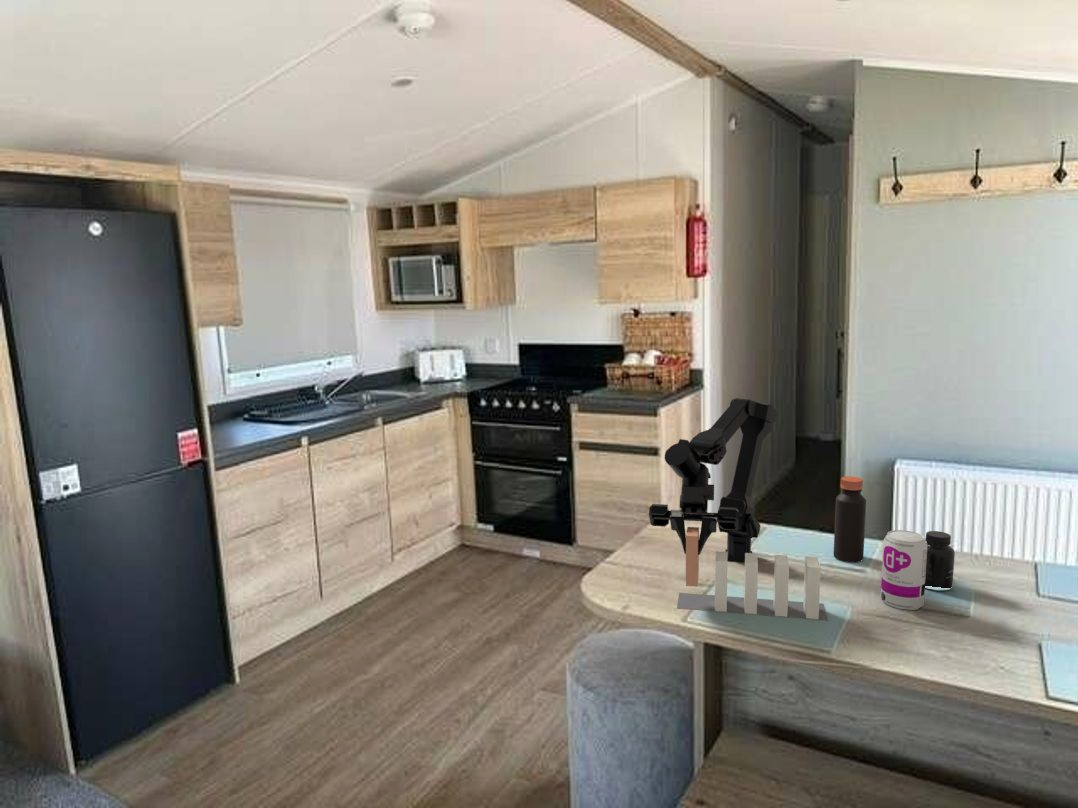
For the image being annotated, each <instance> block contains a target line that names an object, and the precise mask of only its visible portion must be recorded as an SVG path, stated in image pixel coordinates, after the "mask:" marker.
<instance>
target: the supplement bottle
mask: <svg viewBox="0 0 1078 808" xmlns="http://www.w3.org/2000/svg"><path fill="white" fill-rule="evenodd" d="M925 533H926V534H925V537H924V539H925V541H926V543H927V560H926V576H925V586H932V587H941V588H951V587H952V588H953V582H954V571H955V570H954V569H955V560H956V559H955V557H956V556H955V555H956V553H955V550H954V548H953V547H952V546H950V545H951V538H952V536H951V534H950V533H947V532H944V531H938V530H929V531H927V532H925ZM952 588H951V589H952Z"/></svg>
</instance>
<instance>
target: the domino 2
mask: <svg viewBox="0 0 1078 808" xmlns="http://www.w3.org/2000/svg"><path fill="white" fill-rule="evenodd" d="M758 559H759V558H758V553H753V552H752V553H745V561H744V583H743V584H744V586H743V589H744V590H743V591H744V592H743V593H744V594H743V598H744V611H745V613H747V614H746V615H751V614H757V599H758V580H759V579H758V578H759V577H758V575H759V573H758V572H759V561H758Z"/></svg>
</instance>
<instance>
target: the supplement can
mask: <svg viewBox="0 0 1078 808" xmlns="http://www.w3.org/2000/svg"><path fill="white" fill-rule="evenodd" d="M882 543H883V544H882V557H881V558H882V561H881V581H880V596H879V598H880V599H881V601H882V602H884V603H885V604H886V605H888V606H890V607H892V608H896V609H899V610H911V611H917V610H919V609H920V608H922V607H923V606H924V603H925V591H926V588H925V576H926V560H927V542H926V541H925V536H924V535H923V534H921V533H919V532H916V531H911V530H904V529H897V530H894V529H893V530H889V531H888V532H887V534H886V535H885V537H884V539H883V542H882Z"/></svg>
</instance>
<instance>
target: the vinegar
mask: <svg viewBox="0 0 1078 808" xmlns="http://www.w3.org/2000/svg"><path fill="white" fill-rule="evenodd" d="M863 485H864V480H863V479H862V478H861V477H858V476H842V477H841V478H840V490H841V492H840V493H839V494H838V495H837V496H836V498H835V508H834V509H835V511H834V535H833V536H834V537H833V557H834V558H835V559H836V560H838V561H840V562H844V563H853V562H854V563H859V562H858V561H860V562H861V560H862V561H863V560H864V556H865V555H864V552H865V551H864V549H865V533H866V531H865V530H866V509H867V500H866V498H865V497H864V496H863V495H862V491H863Z"/></svg>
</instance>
